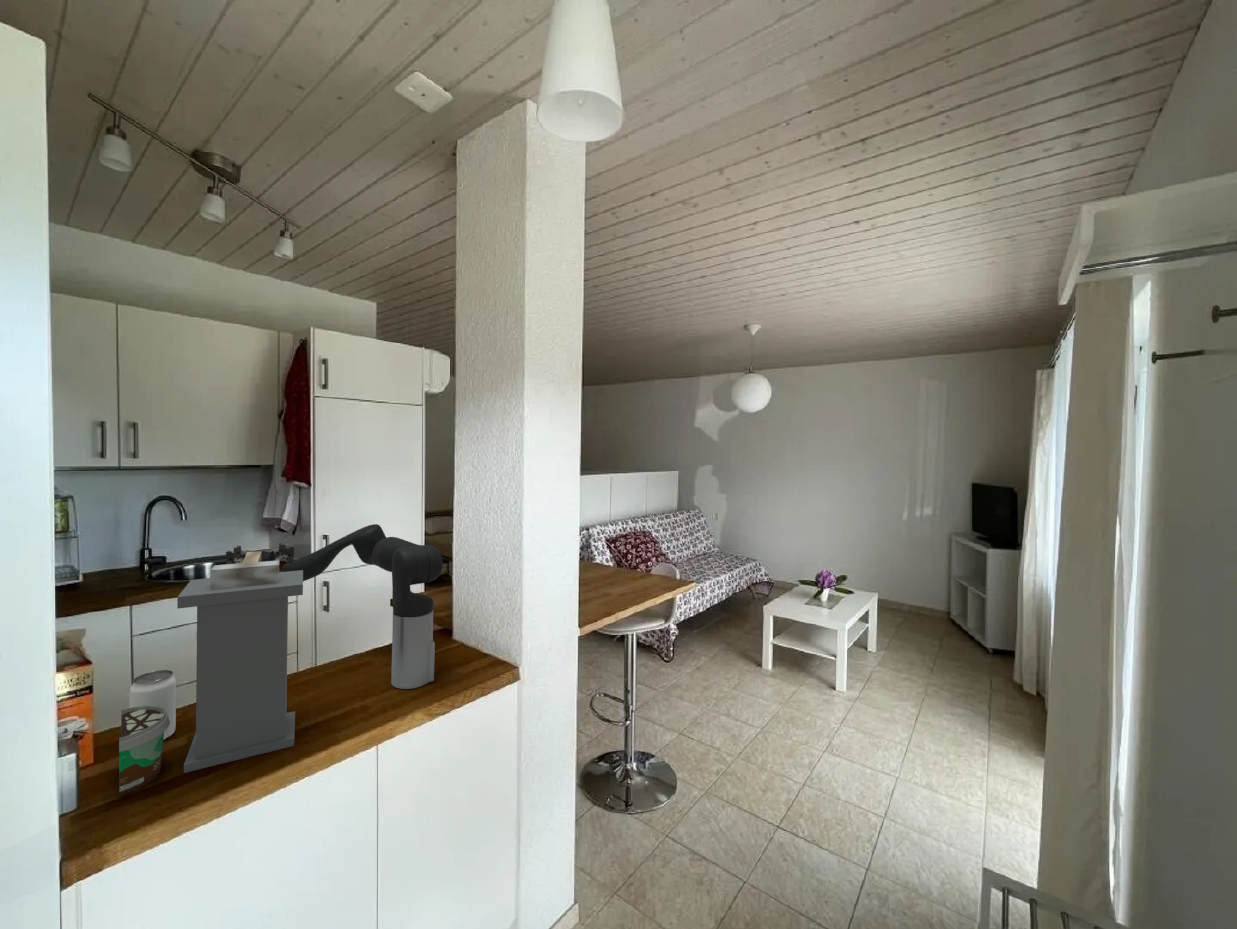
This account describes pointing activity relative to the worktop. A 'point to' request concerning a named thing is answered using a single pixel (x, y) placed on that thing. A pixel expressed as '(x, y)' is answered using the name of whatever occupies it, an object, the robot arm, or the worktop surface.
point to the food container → (140, 746)
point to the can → (156, 694)
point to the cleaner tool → (245, 572)
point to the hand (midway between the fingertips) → (259, 547)
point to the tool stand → (240, 669)
